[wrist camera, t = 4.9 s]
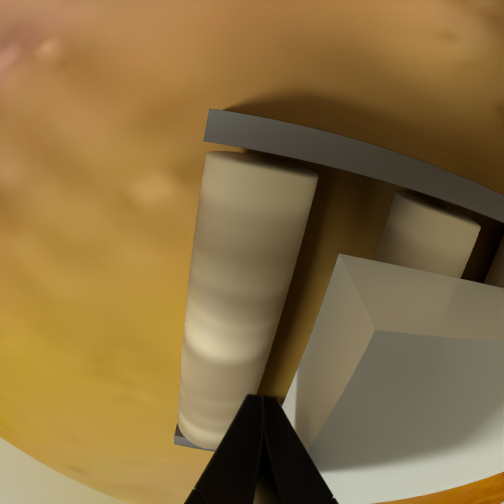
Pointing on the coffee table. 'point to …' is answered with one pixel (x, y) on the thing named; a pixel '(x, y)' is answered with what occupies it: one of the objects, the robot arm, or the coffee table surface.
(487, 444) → the slab
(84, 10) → the coffee table surface
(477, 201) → the roller bed
